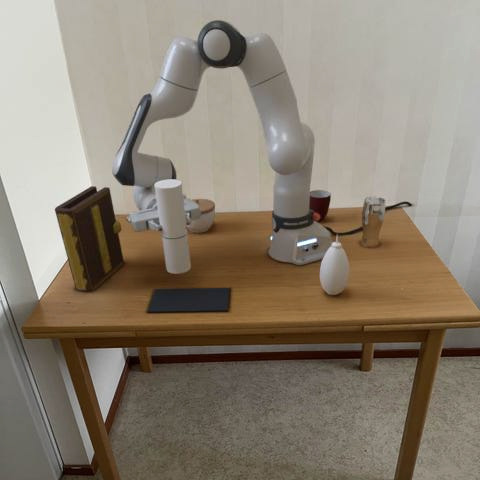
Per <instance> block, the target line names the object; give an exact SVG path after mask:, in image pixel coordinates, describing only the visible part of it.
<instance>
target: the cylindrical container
mask: <svg viewBox="0 0 480 480" xmlns="http://www.w3.org/2000/svg"><path fill="white" fill-rule="evenodd" d="M182 185H183V184H182V181H181V180H179V179H176V180H175V179H167V180H162V181H158V182H156V183H155V184H154V186H155V193H156V200H157V207H158V214H159V221H160V225H162V231H160V234H161V241H162V248H163V255H164V262H165V268H166V269H165V270H166V271H167V272H168V273H170V274H176V275H177V274H184V273H186V272H189V271H190V270H191V268H192V265H191V255H190V246H189V237H188V228H187V227H186V219H185V210H184V201H183V194H184V193H183V186H182Z"/></svg>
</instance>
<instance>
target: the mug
mask: <svg viewBox="0 0 480 480" xmlns="http://www.w3.org/2000/svg"><path fill="white" fill-rule="evenodd" d="M331 196H332V194H331V192H330V191H328V190H324V189H313V190H310V202H309V209H311V210H313V211H314V213H318V214H319V215H320V219H319V220H318V221H316V220H315V219H314V220H315V221H316V222H317V223H322V222H324V220H325V219H326V217H327V215H328V213H329V209H330V205H331V198H332V197H331Z"/></svg>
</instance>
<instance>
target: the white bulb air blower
mask: <svg viewBox="0 0 480 480" xmlns="http://www.w3.org/2000/svg"><path fill="white" fill-rule="evenodd" d="M342 246H343V245H342V243H341V242H339V235H338V234H337V235H336V237H335V241H333V243H332V244H331V247H330V248H329V249H328V250H327V252H326V254H325V255H324V258H323V259H321V263H320V268H319V281H320V285H321V287H322V289H323V291H324V292H326V293H327V294H328V295H330V296H336V295H338V294H341V293H342V292H343V291H344V290H345V288H346V287H347V284H348V283H349V280H350V264H349V263H350V262H349V258H348V256H347V253H346V251H345V249H344V248H343V247H342Z"/></svg>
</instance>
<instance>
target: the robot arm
mask: <svg viewBox="0 0 480 480" xmlns="http://www.w3.org/2000/svg"><path fill="white" fill-rule="evenodd" d="M235 67H237V68H238V69H239V70H240V71H241V73H242V74H243V76H244V79H245V81H246V84H247V87H248V89H249V92H250V95H251V98H252V100H253V103H254V106H255V108H256V111H257V114H258V116H259V120H260V123H261V124H260V125H261V128H262V129H261V130H262V133H263V139H264V143H265V146H266V150H267V159H268V163H269V166H270V168H271V169H272V170H273V171H274V173H275V175H274V181H273V186H272V187H273V189H272V190H273V191H272V192H273V196H272V197H273V198H272V199H273V201H272V203H273V209H272V211H271V228H272V235H271V237H270V240H271V242H270V246H269V248H268V255H269V257H270V258H272V259H273V260H276V261H277V262H278V261H279V262H283V263H291V264H294V265H297V266H304V265H306V264H310V263H313V262H317V261H321V260H323V258H324V255H325V254H326V252H327V250H328V249H329V248H330V247H331V244H332V243H333V242H334V241H333V240H332V237H331V235H333V236H337V234H338V236H347V235H352V234H355V233H357V232H360V231H363V225H361V226H360V227H358V228H355V229H352V230H350V231H345V232H336V231H334V230H333V229H332V228H331V227H329V226H325V225H322V224H320V222H316V221H318V220H319V219H320V215H319V214H318V213H314V211H313V210H311V209H309V202H310V192H311V183H312V175H313V164H314V154H315V144H316V143H315V141H316V140H315V134H314V131H313V129H312V128H311V127H310V125H308V124H306V123H305V122H301V118H300V113H299V109H298V108H299V107H298V99H297V97H296V93H295V90H294V87H293V85H292V82H291V79H290V75H289V73H288V70H287V67H286V65H285V62H284V60H283V58H282V54H281V53H280V51H279V49H278V47H277V45H276V43H275V42H274V40H273V38H272V37H271V36H270V35H269V34H267V33H262V32H258V33H253V34H251V35H249V36H244V35H242V33H241V32H240V30H239V29H238V28H237V27H236V26H235V25H234V24H233V23H231V22H230V21H227V20H223V19H217V20H212V21H211V20H210V21H209V22H207V23H206V24H205V25H203V26H202V28H201V30H200V31H199V34H198V37H197V39H192V38H189V37H183V36H182V37H177V38H175V39H174V40H172V41H171V43H170V44H169V47H168V49H167V52H166V54H165V56H164V59H163V63H162V66H161V69H160V73H159V77H158V80H157V83H156V85H155V86H154V87H153V89H152V90H151V91H150V92H149V93H147V94H144V95H143V96H142V97H141V99H140V101H139V102H138V104H137V107H136V109H135V111H134V113H133V116H132V118H131V121H130V123H129V126H128V128H127V131H126V132H125V135H124V138H123V141H122V143H121V145H120V147H119V149H118V151H117V152H116V154H115V156H114V159H113V161H112V168H111V169H112V175H113V177H114V179H115V180H116V182H118V183H119V184H120V185H121V186H126V187H134V188H133V191H132V198H133V202H134V204H135V206H136V208H137V209H138V210H136V211H133V212H131V213H130V214H129V215H127V216H126V218H125V219H126V222H128V223H130V224H131V228H132V230H133V231H134V232H136V233H143V232H146V231H150V230H151V231H156V233H159V232H160V233H161V231H162V225H160V221H159V214H158V207H157V200H156V193H155V186H154V184H155V183H156V182H158V181H162V180H167V179H175V180H177V171H176V168H175V164H174V163H173V161H172V160H171V159H170V158H167V157H163V156H158V155H152V154H147V153H143V152H139V149H140V147H141V145H142V142H143V140H144V138H145V135H146V133H147V130H148V129H149V127H150V126H151V125H152V124H154V123H156V122H159V121H162V120H168V119H176V118H179V117H182V116H184V115H186V114H187V113H189V112H190V111H192V109H193V108H194V105H195V103H196V100H197V97H198V93H199V90H200V85H201V82H202V78H203V76H204V73H205V72H206V70H207V69H209V68H213V69H219V70H221V69H223V70H224V69H228V68H235ZM183 201H184V210H185V219H186V225H191V220H195V219H199V218H200V217H201V210H200V206H199V205H198V204H197V203H196V202H194V201H193V200H192V198H187V195H186V194H184V193H183ZM402 205H408V206H409V207H411V206H413V205H412V203H411V202H409V201H401V202H398V203H396V204H393V205H388V206H385V211H387V210H390V209H394V208H397V207H399V206H402ZM314 219H315V220H316V221H315V220H314ZM330 233H331V234H330Z"/></svg>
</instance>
